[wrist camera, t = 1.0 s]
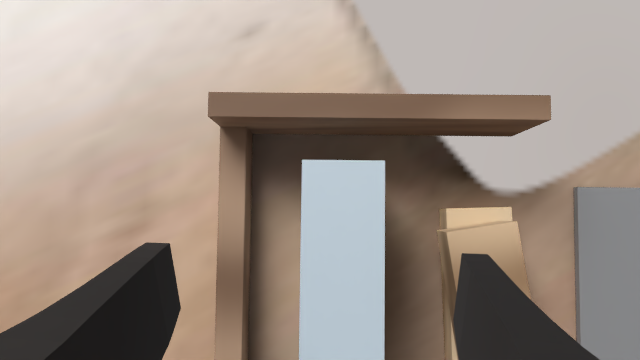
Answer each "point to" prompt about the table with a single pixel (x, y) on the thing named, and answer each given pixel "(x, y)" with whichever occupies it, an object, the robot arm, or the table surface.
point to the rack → (326, 118)
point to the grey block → (608, 271)
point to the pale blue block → (342, 260)
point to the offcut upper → (482, 239)
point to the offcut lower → (447, 220)
